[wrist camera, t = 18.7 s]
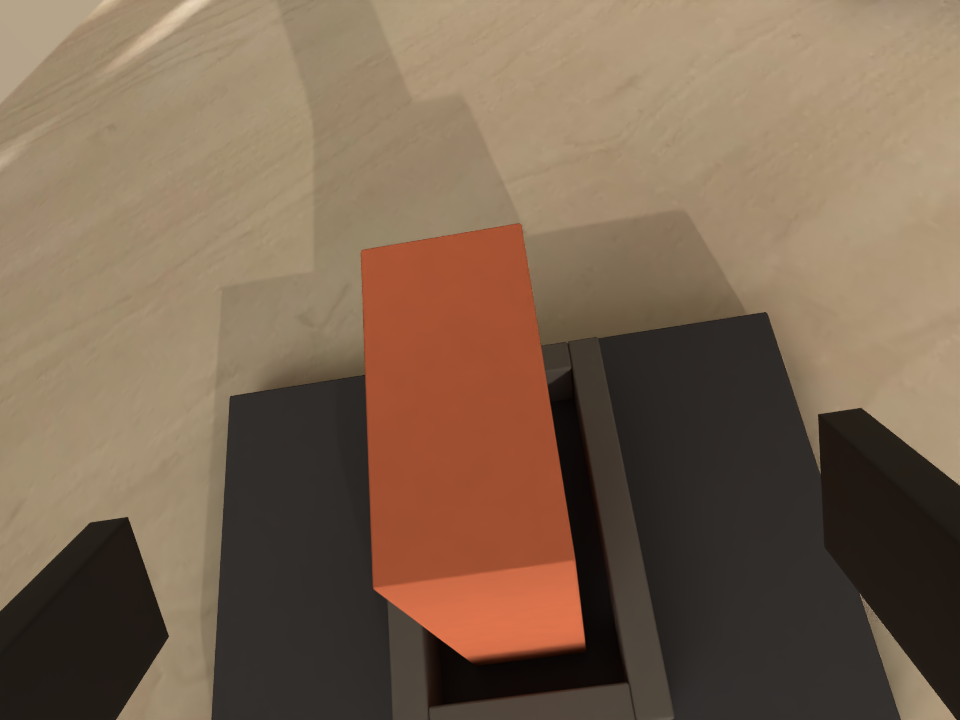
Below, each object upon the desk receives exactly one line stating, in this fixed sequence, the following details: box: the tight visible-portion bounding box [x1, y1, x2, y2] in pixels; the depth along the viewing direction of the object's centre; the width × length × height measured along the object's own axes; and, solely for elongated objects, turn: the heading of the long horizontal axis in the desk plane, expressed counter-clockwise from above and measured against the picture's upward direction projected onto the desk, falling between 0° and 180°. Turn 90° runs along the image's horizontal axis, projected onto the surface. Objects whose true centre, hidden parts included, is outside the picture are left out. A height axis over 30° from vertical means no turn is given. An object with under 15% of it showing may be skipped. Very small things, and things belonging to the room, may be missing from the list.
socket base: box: [212, 312, 901, 720], centre depth 24 cm, size 20×14×4 cm
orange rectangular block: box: [361, 224, 586, 666], centre depth 20 cm, size 3×7×12 cm, turn 6°
